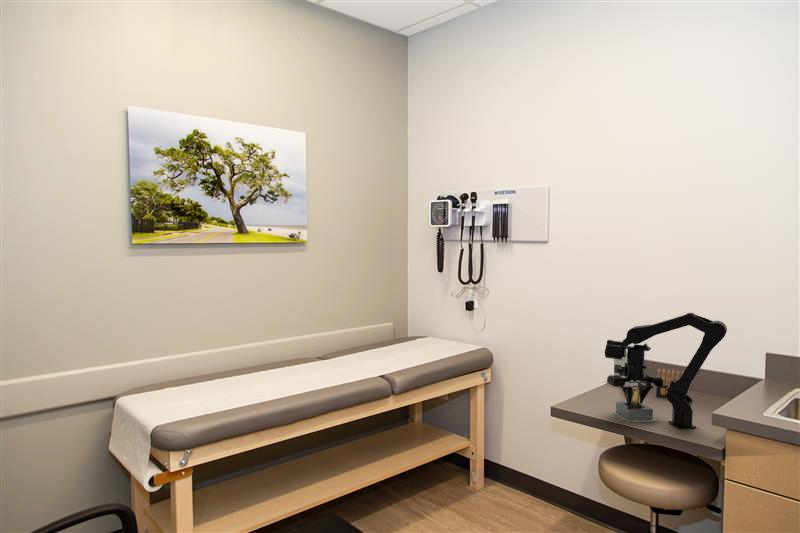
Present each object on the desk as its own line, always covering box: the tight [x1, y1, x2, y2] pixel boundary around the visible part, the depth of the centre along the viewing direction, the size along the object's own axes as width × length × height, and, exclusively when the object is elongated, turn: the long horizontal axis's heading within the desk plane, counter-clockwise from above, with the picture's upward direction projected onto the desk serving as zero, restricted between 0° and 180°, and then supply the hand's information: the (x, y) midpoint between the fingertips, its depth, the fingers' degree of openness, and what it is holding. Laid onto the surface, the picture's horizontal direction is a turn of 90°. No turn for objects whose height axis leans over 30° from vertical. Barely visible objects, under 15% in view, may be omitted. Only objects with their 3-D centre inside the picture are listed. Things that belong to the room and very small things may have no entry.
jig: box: [611, 401, 658, 423], centre depth 193 cm, size 11×11×4 cm
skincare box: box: [613, 349, 639, 388], centre depth 237 cm, size 8×7×16 cm
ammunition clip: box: [655, 367, 685, 399], centre depth 217 cm, size 11×2×12 cm, turn 62°
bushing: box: [628, 387, 641, 408], centre depth 192 cm, size 4×4×7 cm
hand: (634, 403), depth 192 cm, fingers closed on bushing, 4 cm apart
